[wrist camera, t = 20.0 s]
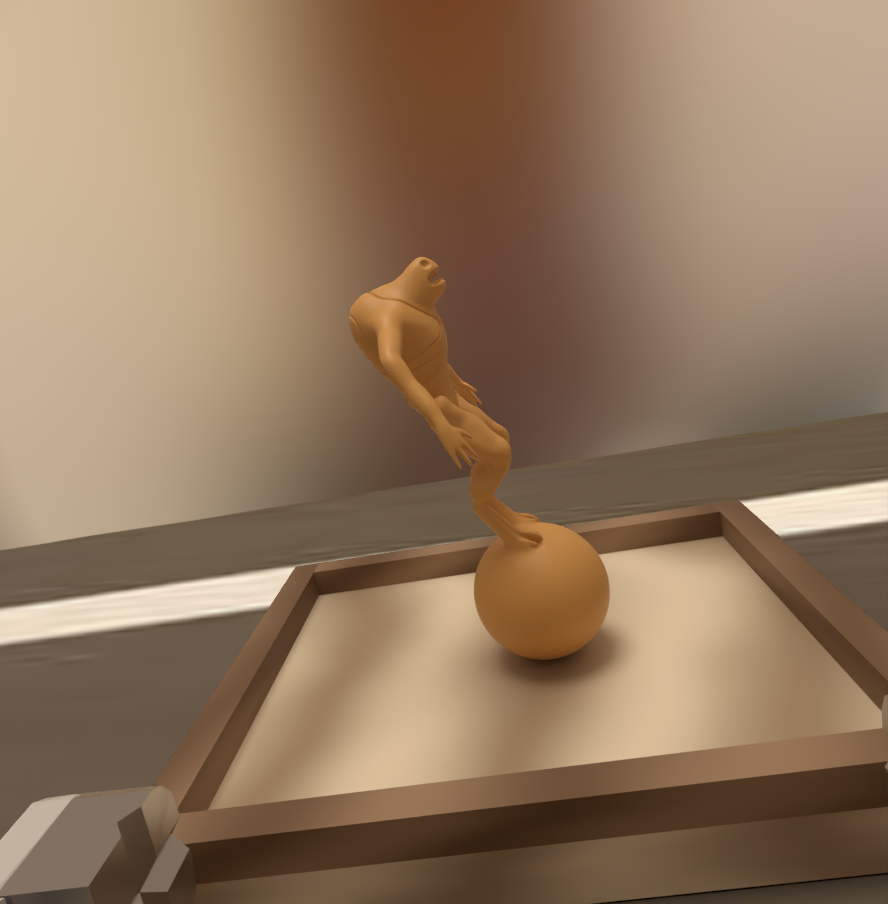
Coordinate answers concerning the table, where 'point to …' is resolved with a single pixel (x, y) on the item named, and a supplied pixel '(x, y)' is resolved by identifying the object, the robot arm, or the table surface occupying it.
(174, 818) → the robot arm
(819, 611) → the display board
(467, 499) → the table surface
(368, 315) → the figurine
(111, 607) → the table surface
